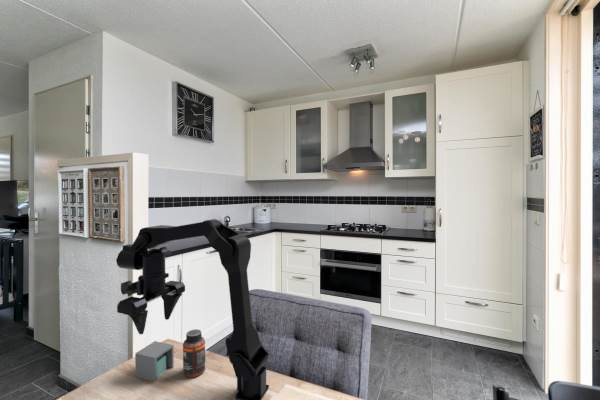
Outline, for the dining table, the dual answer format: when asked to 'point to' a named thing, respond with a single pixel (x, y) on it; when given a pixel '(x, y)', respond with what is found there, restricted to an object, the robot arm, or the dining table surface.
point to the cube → (161, 364)
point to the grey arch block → (153, 359)
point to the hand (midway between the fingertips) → (154, 326)
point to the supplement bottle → (194, 354)
